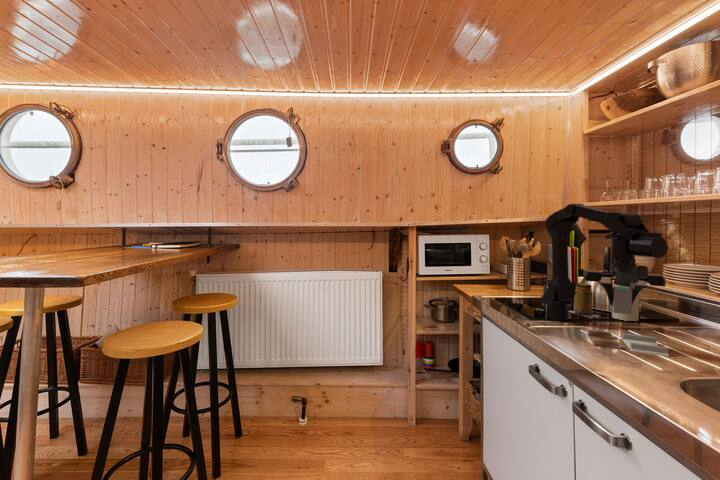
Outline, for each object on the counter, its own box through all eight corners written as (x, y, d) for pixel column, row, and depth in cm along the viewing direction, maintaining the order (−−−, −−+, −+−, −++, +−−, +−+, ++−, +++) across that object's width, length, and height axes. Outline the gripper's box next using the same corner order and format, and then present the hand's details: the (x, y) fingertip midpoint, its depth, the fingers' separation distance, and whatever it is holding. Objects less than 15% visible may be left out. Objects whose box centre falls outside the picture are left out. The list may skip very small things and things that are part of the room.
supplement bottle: (554, 309, 141) (555, 281, 140) (538, 305, 147) (539, 278, 146) (563, 307, 144) (565, 280, 143) (548, 304, 150) (549, 277, 149)
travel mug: (630, 323, 122) (633, 274, 121) (607, 317, 130) (609, 271, 129) (642, 320, 126) (645, 273, 125) (619, 315, 133) (622, 270, 132)
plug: (614, 312, 99) (615, 286, 98) (609, 308, 104) (610, 283, 104) (631, 314, 97) (632, 287, 96) (625, 309, 102) (627, 284, 102)
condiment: (582, 310, 139) (583, 282, 139) (600, 316, 131) (602, 286, 130) (567, 311, 138) (568, 283, 137) (585, 317, 129) (587, 287, 129)
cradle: (632, 352, 95) (632, 344, 95) (621, 339, 106) (621, 332, 106) (668, 357, 91) (669, 349, 91) (653, 343, 102) (653, 336, 102)
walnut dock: (594, 346, 99) (594, 340, 99) (587, 334, 110) (587, 328, 110) (619, 350, 96) (619, 343, 96) (609, 337, 107) (609, 331, 107)
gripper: (589, 255, 97) (587, 308, 97) (674, 258, 88) (671, 317, 89) (584, 252, 106) (582, 300, 107) (659, 255, 98) (657, 307, 99)
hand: (620, 306), depth 100 cm, fingers closed on plug, 4 cm apart
